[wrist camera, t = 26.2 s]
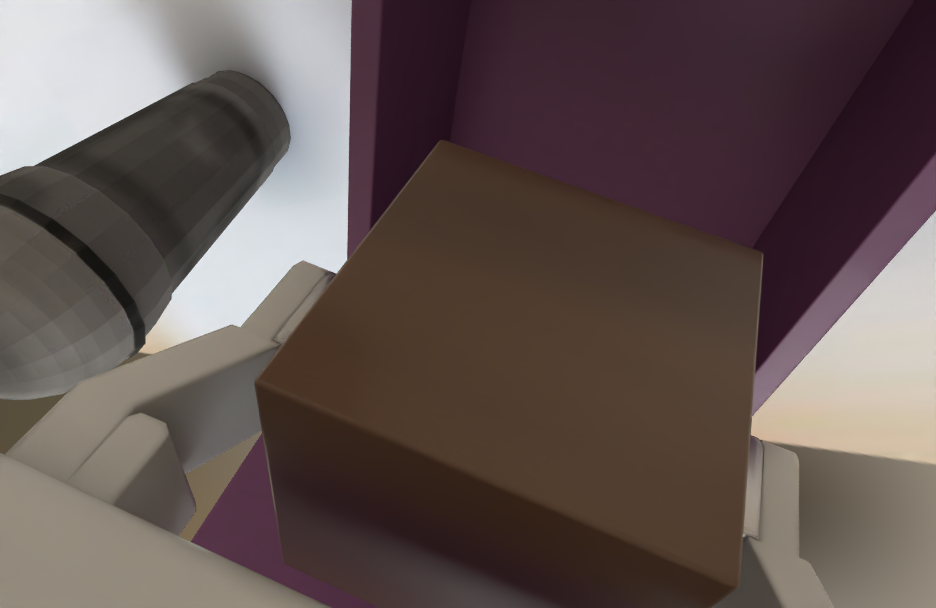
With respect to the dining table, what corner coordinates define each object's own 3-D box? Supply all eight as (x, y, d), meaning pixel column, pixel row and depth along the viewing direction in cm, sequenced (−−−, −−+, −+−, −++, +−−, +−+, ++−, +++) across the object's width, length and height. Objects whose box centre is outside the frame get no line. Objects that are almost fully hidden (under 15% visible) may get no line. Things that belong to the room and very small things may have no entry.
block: (440, 136, 10) (251, 381, 6) (765, 251, 9) (742, 588, 6) (411, 341, 13) (281, 564, 10) (642, 433, 13) (584, 704, 9)
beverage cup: (295, 44, 26) (-255, 458, 12) (333, 198, 31) (-28, 610, 17) (149, 31, 28) (-454, 372, 14) (207, 177, 33) (-200, 530, 19)
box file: (500, -331, 16) (356, -328, 11) (1070, -192, 14) (1222, -109, 9) (429, 193, 28) (345, 312, 23) (732, 302, 27) (715, 458, 21)
